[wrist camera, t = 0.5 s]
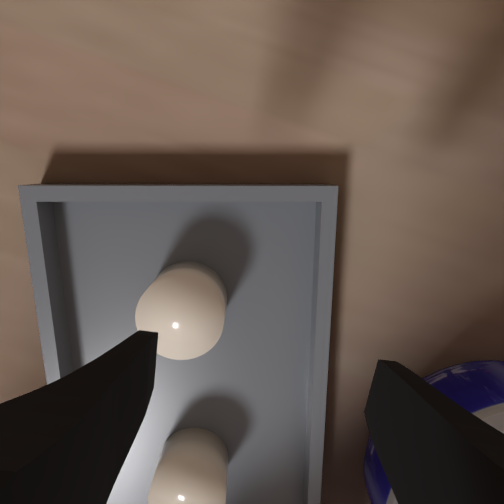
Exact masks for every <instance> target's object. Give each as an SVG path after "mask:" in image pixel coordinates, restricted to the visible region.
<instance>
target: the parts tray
mask: <svg viewBox="0 0 504 504" xmlns="http://www.w3.org/2000/svg"><path fill="white" fill-rule="evenodd" d="M18 189H19V196H20V203H21V210H22V217H23V224H24V230H25V237H26V244H27V251H28V258H29V265H30V272H31V278H32V285H33V292H34V299H35V306H36V313H37V320H38V326H39V333H40V340H41V347H42V354H43V361H44V367H45V374H46V381H47V385H48V384H50V383H52V382H54V381H56V380H58V379H60V378H62V377H64V376H66V375H68V374H70V373H72V372H74V371H75V370H77V369H79V368H80V367H82V366H84V365H86V364H87V363H89V362H91V361H93V360H94V359H96V358H98V357H99V356H101V355H102V354H104V353H105V352H107V351H109V350H110V349H112V348H113V347H115V346H116V345H118V344H119V343H121V342H122V341H124V340H125V339H127V338H128V337H129V336H131V335H132V334H134V333H135V332H137V327H136V322H135V312H136V307H137V304H138V302H139V300H140V298H141V296H142V295H143V294H144V292H145V291H146V290H147V289H148V287H149V286H150V285H151V284H152V282H153V281H154V280H155V279H156V277H157V276H158V275H159V274H160V273H161V272H162V271H163V270H164V269H165V268H166V267H168V266H170V265H172V264H174V263H177V262H181V261H195V262H199V263H202V264H205V265H207V266H209V267H210V268H212V269H213V270H214V271H215V272H216V273H217V274H218V275H219V276H220V277H221V279H222V280H223V282H224V284H225V287H226V291H227V306H226V313H225V320H224V326H223V331H222V334H221V336H220V338H219V340H218V342H217V343H216V344H215V345H214V347H213V348H212V349H210V350H209V351H208V352H207V353H205V354H203V355H201V356H199V357H196V358H193V359H188V360H174V359H169V358H166V357H163V356H161V355H159V354H157V356H156V369H155V381H154V389H153V392H152V396H151V399H150V402H149V405H148V409H147V412H146V415H145V417H144V420H143V422H142V424H141V426H140V429H139V431H138V433H137V435H136V438H135V440H134V442H133V444H132V446H131V449H130V451H129V453H128V455H127V457H126V460H125V462H124V464H123V466H122V468H121V471H120V473H119V475H118V477H117V479H116V482H115V484H114V486H113V489H112V491H111V494H110V496H109V498H108V501H107V504H148V494H149V490H150V487H151V484H152V480H153V477H154V473H155V470H156V467H157V463H158V460H159V457H160V453H161V450H162V447H163V445H164V443H165V441H166V440H167V439H168V438H169V437H170V436H171V435H172V434H174V433H175V432H177V431H179V430H182V429H186V428H202V429H206V430H209V431H211V432H213V433H215V434H216V435H217V436H219V437H220V438H221V439H222V441H223V442H224V443H225V445H226V447H227V450H228V472H227V488H226V504H320V501H321V484H322V466H323V449H324V431H325V413H326V396H327V378H328V361H329V343H330V325H331V308H332V290H333V273H334V255H335V237H336V220H337V202H338V186H336V185H332V184H30V185H18Z"/></svg>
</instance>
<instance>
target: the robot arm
mask: <svg viewBox="0 0 504 504" xmlns="http://www.w3.org/2000/svg"><path fill="white" fill-rule="evenodd" d="M157 344H158V332H151V331H142V330H139V331H137V332H135V333H134V334H132V335H131V336H129V337H128V338H127V339H125V340H124V341H122V342H121V343H119V344H118V345H116V346H115V347H113V348H112V349H110V350H109V351H107V352H105V353H104V354H102V355H101V356H99V357H98V358H96V359H94V360H93V361H91V362H89V363H87V364H86V365H84V366H82V367H80V368H79V369H77V370H75V371H74V372H72V373H70V374H68V375H66V376H64V377H62V378H60V379H58V380H56V381H54V382H52V383H50V384H48V385H46V386H43V387H41V388H39V389H37V390H34V391H32V392H30V393H27V394H24V395H22V396H19V397H17V398H14V399H11V400H9V401H6V402H4V403H1V404H0V504H107V501H108V498H109V496H110V494H111V491H112V489H113V486H114V484H115V482H116V479H117V477H118V475H119V473H120V471H121V468H122V466H123V464H124V462H125V460H126V457H127V455H128V453H129V451H130V449H131V446H132V444H133V442H134V440H135V438H136V435H137V433H138V431H139V429H140V426H141V424H142V422H143V420H144V417H145V415H146V412H147V409H148V405H149V402H150V399H151V396H152V392H153V389H154V381H155V369H156V356H157ZM364 413H365V417H366V421H367V425H368V429H369V432H370V435H371V439H372V442H373V445H374V447H375V450H376V452H377V455H378V457H379V460H380V462H381V464H382V467H383V469H384V472H385V474H386V476H387V479H388V481H389V483H390V486H391V488H392V490H393V493H394V495H395V498H396V500H397V502H398V504H504V433H502V432H500V431H499V430H497V429H495V428H494V427H492V426H490V425H489V424H487V423H486V422H484V421H483V420H481V419H480V418H478V417H477V416H475V415H474V414H472V413H470V412H469V411H467V410H466V409H464V408H463V407H462V406H460V405H459V404H457V403H456V402H454V401H453V400H451V399H450V398H449V397H447V396H446V395H444V394H443V393H442V392H440V391H439V390H437V389H436V388H435V387H433V386H432V385H431V384H429V383H428V382H426V381H425V380H424V379H422V378H421V377H419V376H418V375H417V374H415V373H414V372H412V371H411V370H409V369H408V368H406V367H405V366H403V365H402V364H400V363H398V362H396V361H388V360H379V359H378V362H377V366H376V370H375V374H374V377H373V381H372V385H371V388H370V392H369V396H368V400H367V403H366V407H365V411H364Z"/></svg>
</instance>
